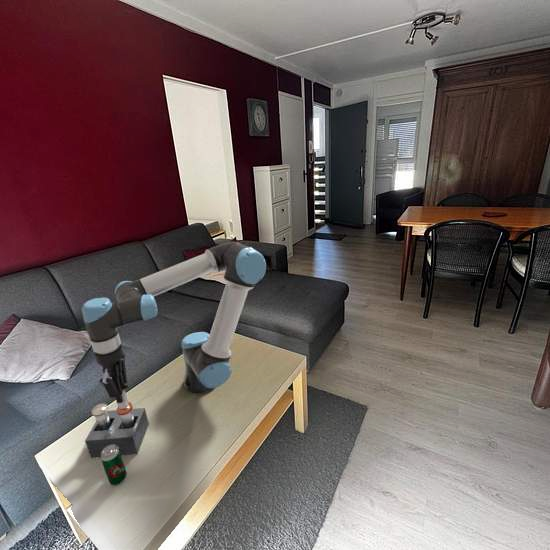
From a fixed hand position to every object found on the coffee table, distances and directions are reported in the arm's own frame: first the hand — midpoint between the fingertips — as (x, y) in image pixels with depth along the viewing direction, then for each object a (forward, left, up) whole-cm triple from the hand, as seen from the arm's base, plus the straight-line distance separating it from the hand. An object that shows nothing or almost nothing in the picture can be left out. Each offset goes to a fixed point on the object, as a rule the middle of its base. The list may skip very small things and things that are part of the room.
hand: (123, 406), depth 100 cm
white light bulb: (+8, 0, -8) cm, 11 cm away
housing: (+4, 0, -15) cm, 16 cm away
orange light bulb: (0, 0, -8) cm, 8 cm away
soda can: (0, +14, -15) cm, 20 cm away
